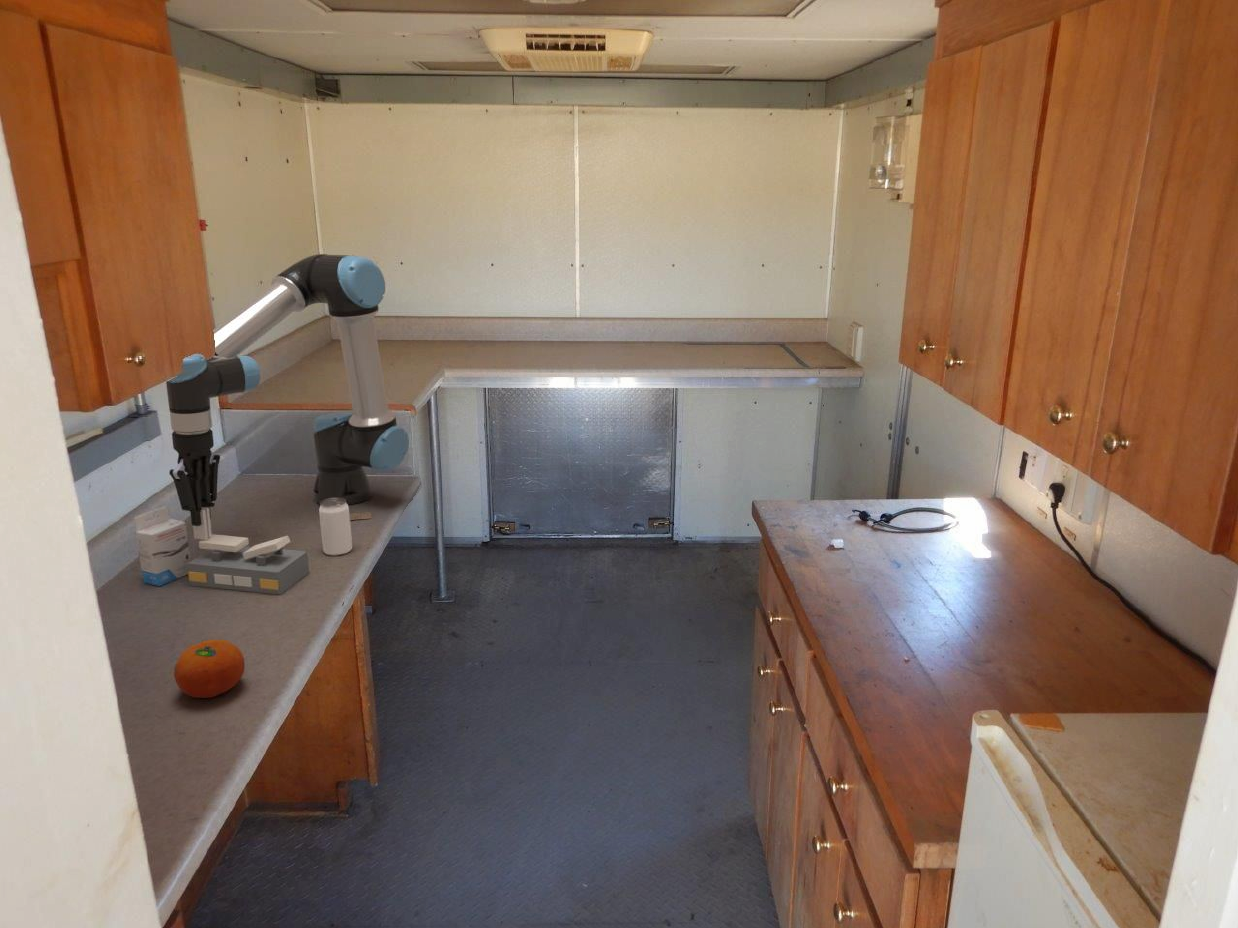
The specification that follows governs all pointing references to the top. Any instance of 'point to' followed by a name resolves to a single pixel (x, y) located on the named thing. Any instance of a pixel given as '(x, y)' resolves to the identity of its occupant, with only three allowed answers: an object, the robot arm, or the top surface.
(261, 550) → the rocker
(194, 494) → the robot arm
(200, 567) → the switch unit
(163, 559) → the ink box
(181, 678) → the fruit
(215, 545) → the rocker
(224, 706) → the top surface
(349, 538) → the can
